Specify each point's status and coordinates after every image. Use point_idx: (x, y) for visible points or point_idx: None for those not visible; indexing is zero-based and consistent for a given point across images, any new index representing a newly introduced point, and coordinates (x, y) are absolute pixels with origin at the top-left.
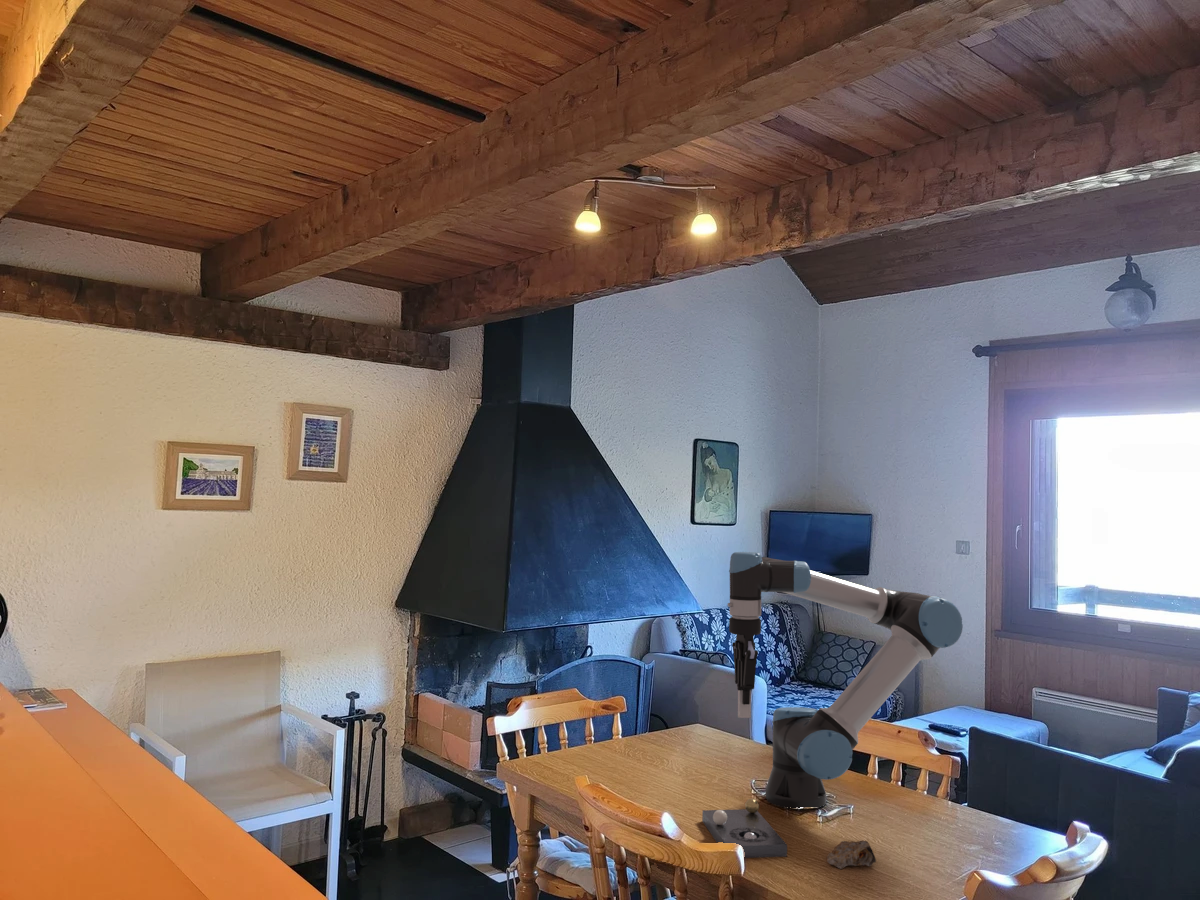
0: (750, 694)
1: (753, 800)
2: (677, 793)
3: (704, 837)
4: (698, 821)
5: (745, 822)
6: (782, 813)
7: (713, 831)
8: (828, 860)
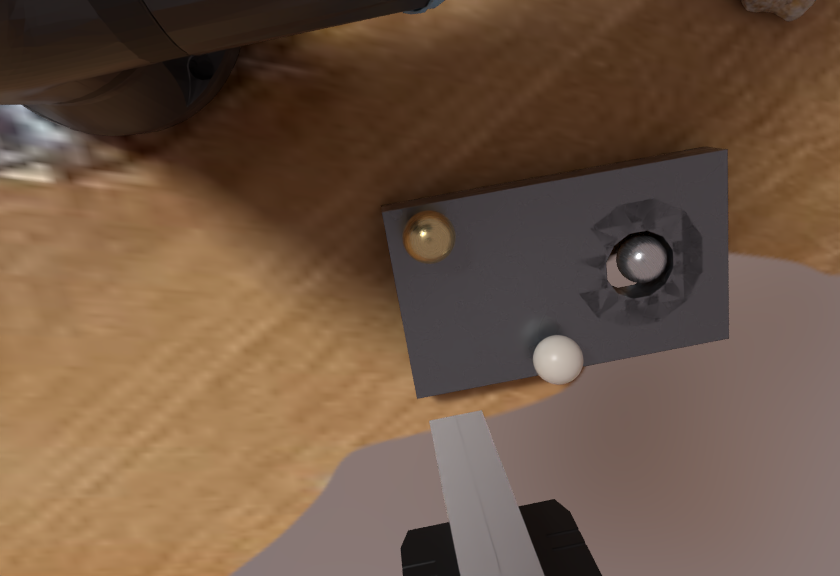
0: (534, 554)
1: (441, 238)
2: (140, 454)
3: None
4: None
5: (526, 265)
6: (293, 90)
7: None
8: (798, 16)
